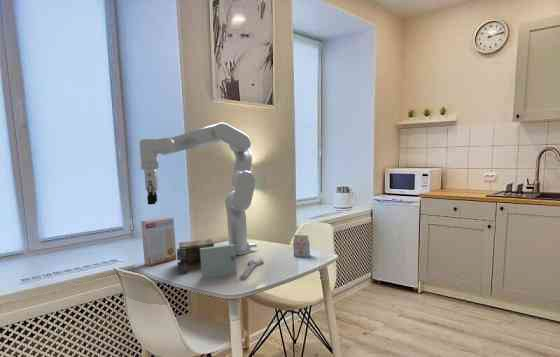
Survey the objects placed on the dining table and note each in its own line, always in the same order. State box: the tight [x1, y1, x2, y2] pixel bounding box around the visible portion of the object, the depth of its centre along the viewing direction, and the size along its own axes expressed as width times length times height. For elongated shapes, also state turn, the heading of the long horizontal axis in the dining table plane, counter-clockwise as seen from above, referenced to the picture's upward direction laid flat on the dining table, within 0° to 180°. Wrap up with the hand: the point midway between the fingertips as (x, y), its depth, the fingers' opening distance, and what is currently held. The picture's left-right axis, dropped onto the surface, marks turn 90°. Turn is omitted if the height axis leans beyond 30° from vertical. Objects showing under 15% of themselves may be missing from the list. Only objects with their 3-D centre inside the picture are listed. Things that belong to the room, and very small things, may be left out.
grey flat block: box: [200, 244, 238, 280], centre depth 140 cm, size 14×4×12 cm, turn 107°
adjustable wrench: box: [239, 258, 264, 281], centre depth 146 cm, size 25×6×2 cm, turn 165°
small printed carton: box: [293, 234, 311, 258], centre depth 164 cm, size 4×7×10 cm, turn 63°
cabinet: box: [176, 238, 215, 275], centre depth 154 cm, size 16×16×10 cm
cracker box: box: [140, 216, 177, 267], centre depth 164 cm, size 14×6×21 cm, turn 135°
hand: (152, 203), depth 158 cm, fingers open, 9 cm apart
